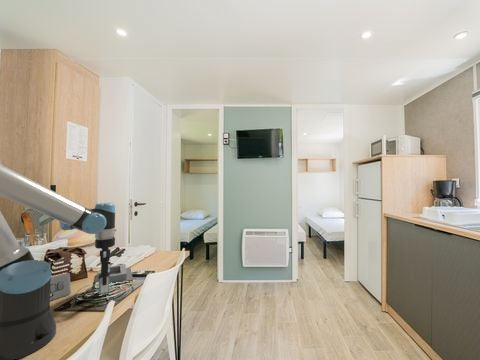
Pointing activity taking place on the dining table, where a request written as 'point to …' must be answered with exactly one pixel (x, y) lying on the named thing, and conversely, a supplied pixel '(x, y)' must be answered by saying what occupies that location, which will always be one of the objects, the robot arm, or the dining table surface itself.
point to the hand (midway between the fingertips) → (105, 285)
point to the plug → (100, 281)
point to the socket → (118, 274)
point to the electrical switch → (60, 286)
